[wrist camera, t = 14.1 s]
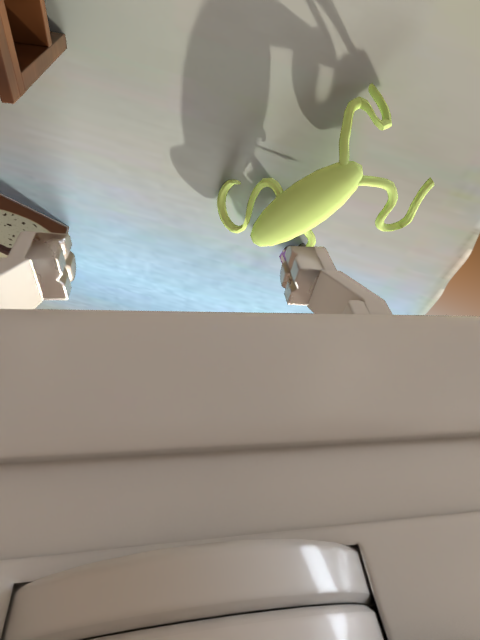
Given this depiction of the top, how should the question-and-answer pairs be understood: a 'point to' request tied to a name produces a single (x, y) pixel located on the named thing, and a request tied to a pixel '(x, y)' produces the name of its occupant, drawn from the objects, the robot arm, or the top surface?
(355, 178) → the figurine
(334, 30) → the top surface
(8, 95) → the stand
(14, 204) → the food container
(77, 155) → the top surface
